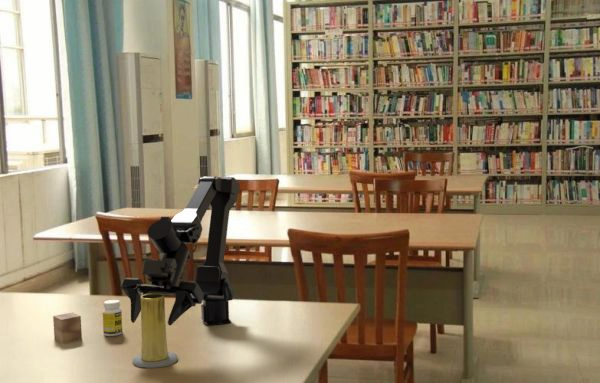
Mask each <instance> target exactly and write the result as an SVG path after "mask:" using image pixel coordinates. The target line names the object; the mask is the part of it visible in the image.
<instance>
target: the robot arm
mask: <svg viewBox="0 0 600 383" xmlns="http://www.w3.org/2000/svg"><path fill="white" fill-rule="evenodd" d="M197 184H198V185H197V187H196V189H195V191H194V192H193V194H192V196H191V197H190V199H189V201H188V203H187V204H186V206H185V207H184V209H183V210H182V211H181V212H179V213H177V214H175V216H174V217H173V218H172V219H171V218H170V216H161V217H160V219H159V220H156V221H155V222H153V223H152V224H151V225H150V226H149V227H148V229H147V235H148V237H149V239H150V241H151V242H152V243H153V245H154V247H155V248H156V250H158V252H159V253H161V254H162V255H161V258H160V259H159V260H158V259H144V260H143V265H142V269H141V274H142V275H146V276H147V280H148V282H151V284H145V283H144V282H143V281H142V278H137V277H136V278H135V277H125V278H124V279H123V280H122V282H121V284H120V288H121V289H122V291H123V293H124V294H125V295H126V297H128V298H129V301H130V322H131V323H133V324H134V323H135V322H136V320H137V319H138V318H139V316H140V314H141V296H142V295H145V294H151V293H161V294H163V295H164V296H165V295H168V296H169V295H171V296H175V299H174V303H173V305H172V308H171V311H170V314H169V316H168V320H167V324H168V326H172V325H173V324H174V323H175V322H176V321H177V320H178V319H179V318H180V317H181V316H183V314H185V313H186V312H187V311H188V310H190V309H191V308H192V307H196V305H200V307H201V308H200V309H201V320H202V321H203V322H204V323H205V324H206V325H205V326H213V325H221V324H230V323H232V320H231V319H230V309H229V308H230V306H229V302H230V301H233V300H234V296H235V289H234V287H233V285H232V284H231V282H230V280H229V272H228V270H227V267H226V265H225V263H224V262H225V254H226V253H225V252H226V243H227V235H228V226H229V218H230V210H231V209H232V208H233V206H234V205H235V204H236V203H237V200H238V195H239V193H240V189H241V186H240V183H239V181H237V180H236V178H235V177H232V176H228V177H227V176H225V177H224V176H220V177H219V176H211V175H210V176H205V175H204V176H202V177H200V178H199V180H198V183H197ZM209 207H211V211H210V221H209V230H208V237H207V245H206V254H205V260H204V262H203V263H202V264H201V265H198V267H197V268H196V277H195V281H194V280H183V279H184V277H185V275H184V273H183V272H184V268H185V264H186V262H187V260H191V259H192V254H191V252H190V249H189V247H188V245H187V244H197V243H198V241H199V240H200V239H201V236H202V232H203V226H202V221H203V218H204V217H205V214H206V212H207V211H208V209H209ZM180 280H181V281H180Z"/></svg>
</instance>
